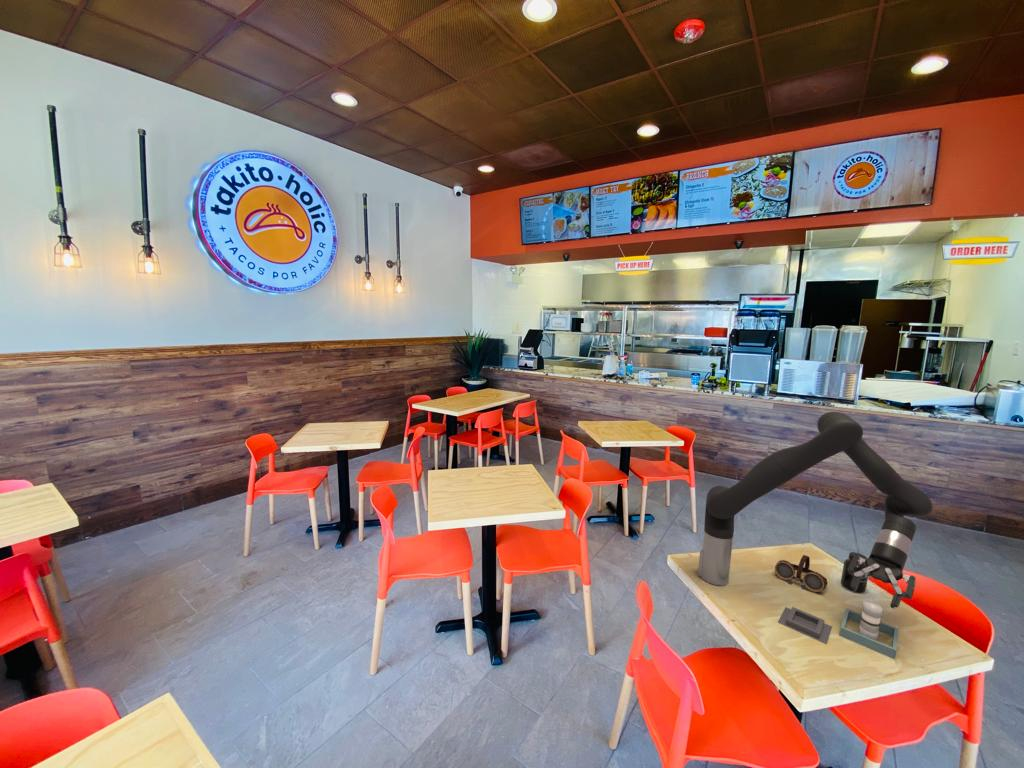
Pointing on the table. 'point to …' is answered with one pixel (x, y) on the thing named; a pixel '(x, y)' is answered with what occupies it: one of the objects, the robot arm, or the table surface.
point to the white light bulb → (870, 619)
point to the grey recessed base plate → (806, 624)
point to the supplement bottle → (848, 578)
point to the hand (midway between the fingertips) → (872, 598)
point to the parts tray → (868, 641)
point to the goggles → (810, 579)
